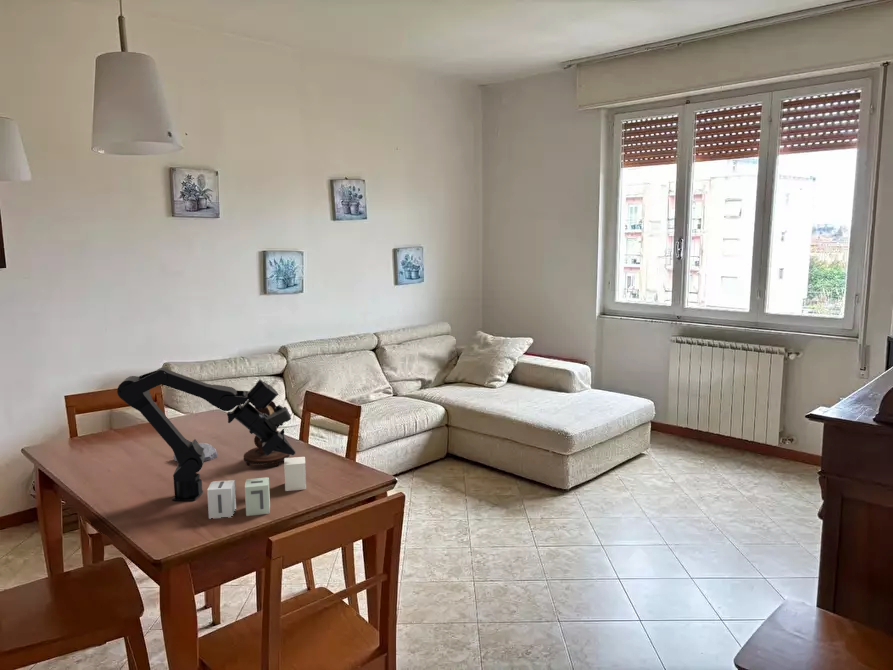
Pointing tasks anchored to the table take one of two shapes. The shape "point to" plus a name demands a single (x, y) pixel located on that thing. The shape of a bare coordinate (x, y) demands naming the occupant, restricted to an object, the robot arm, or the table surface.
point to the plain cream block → (295, 473)
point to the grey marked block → (221, 499)
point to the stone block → (206, 451)
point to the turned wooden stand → (256, 453)
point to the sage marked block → (257, 496)
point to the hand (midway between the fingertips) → (294, 453)
